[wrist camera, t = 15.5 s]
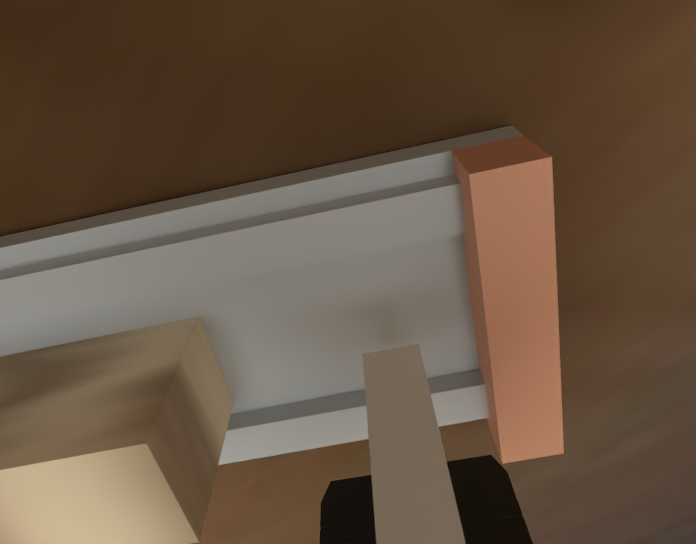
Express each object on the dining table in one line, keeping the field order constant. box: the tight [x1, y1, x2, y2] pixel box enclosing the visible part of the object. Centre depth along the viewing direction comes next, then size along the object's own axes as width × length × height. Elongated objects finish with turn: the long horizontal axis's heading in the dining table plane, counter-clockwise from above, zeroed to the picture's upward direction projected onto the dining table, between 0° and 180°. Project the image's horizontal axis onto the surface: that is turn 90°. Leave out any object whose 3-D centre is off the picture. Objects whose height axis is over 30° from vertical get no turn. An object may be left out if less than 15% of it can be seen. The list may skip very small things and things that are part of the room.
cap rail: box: [0, 126, 564, 465], centre depth 18 cm, size 26×10×3 cm, turn 102°
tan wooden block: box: [0, 316, 234, 544], centre depth 16 cm, size 12×4×6 cm, turn 102°
